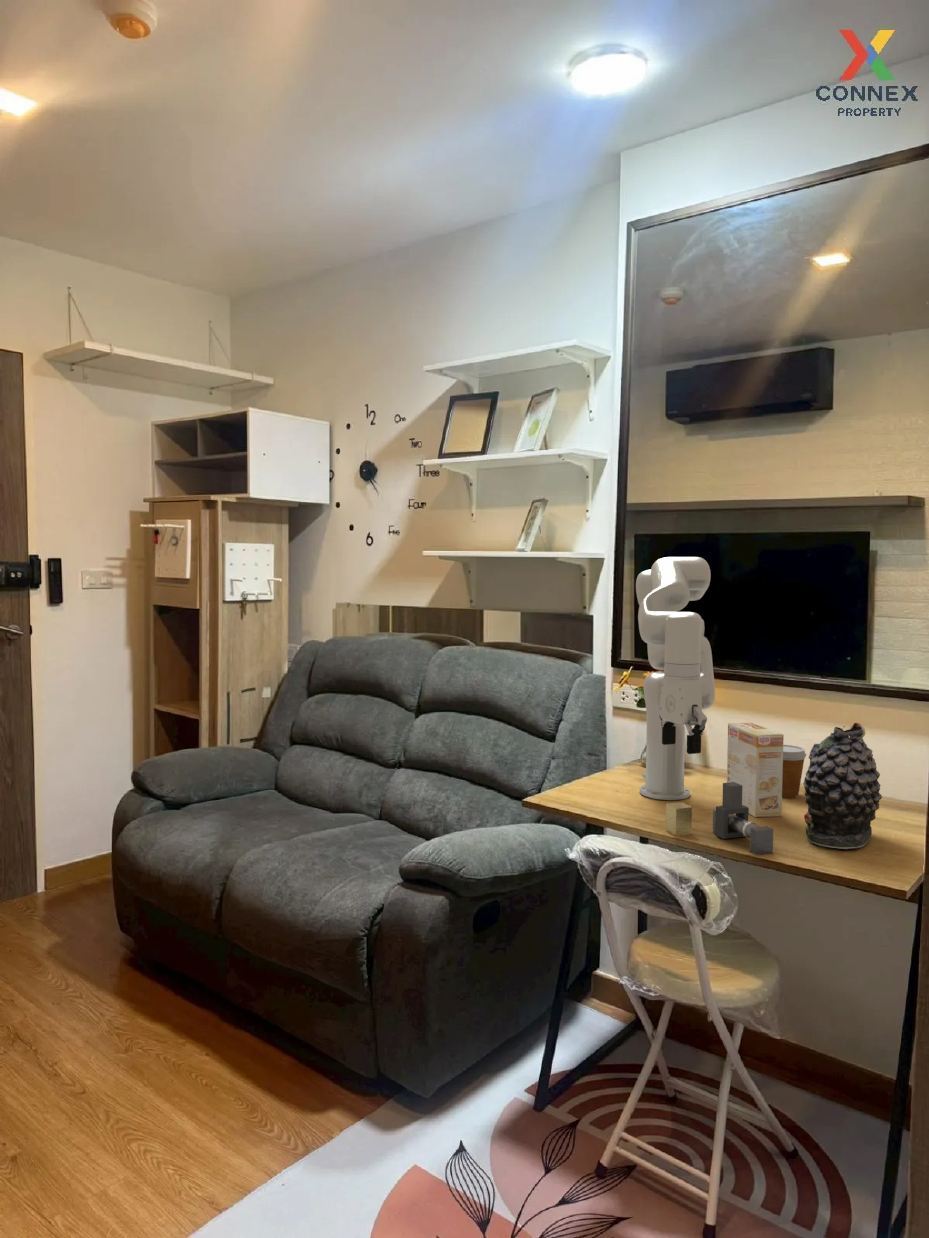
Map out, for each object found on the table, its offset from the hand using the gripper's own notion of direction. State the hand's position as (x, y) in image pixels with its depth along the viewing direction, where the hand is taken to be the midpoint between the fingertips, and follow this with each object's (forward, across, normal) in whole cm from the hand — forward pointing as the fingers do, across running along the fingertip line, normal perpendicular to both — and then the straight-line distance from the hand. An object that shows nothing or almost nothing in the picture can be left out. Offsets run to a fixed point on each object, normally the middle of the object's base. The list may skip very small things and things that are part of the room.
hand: (680, 748), depth 181 cm
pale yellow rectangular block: (+19, 0, 0) cm, 19 cm away
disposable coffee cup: (+18, -17, +42) cm, 49 cm away
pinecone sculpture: (+19, +14, +30) cm, 39 cm away
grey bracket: (+19, +6, +9) cm, 22 cm away
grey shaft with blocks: (+19, +10, +9) cm, 23 cm away
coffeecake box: (+19, -10, +27) cm, 34 cm away
